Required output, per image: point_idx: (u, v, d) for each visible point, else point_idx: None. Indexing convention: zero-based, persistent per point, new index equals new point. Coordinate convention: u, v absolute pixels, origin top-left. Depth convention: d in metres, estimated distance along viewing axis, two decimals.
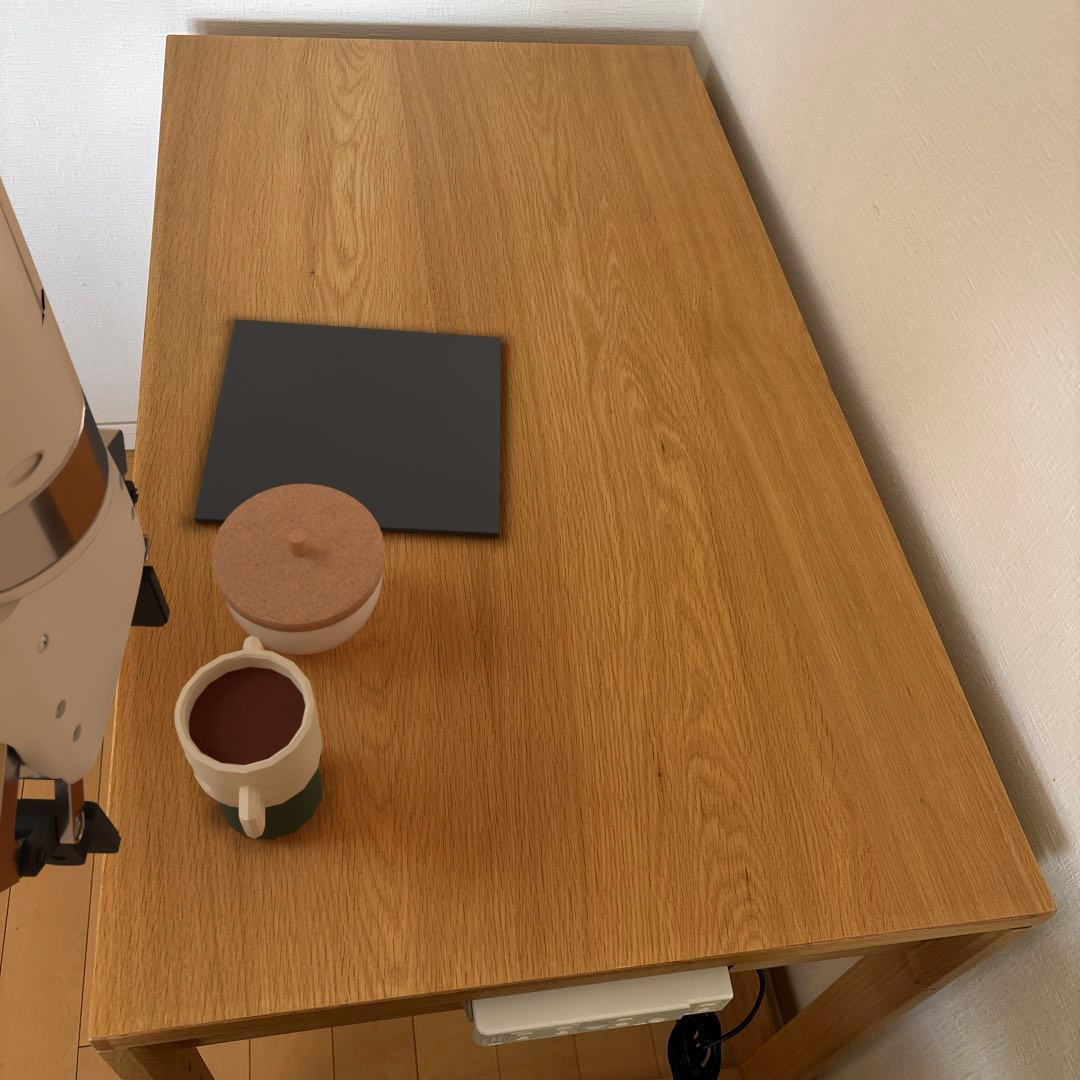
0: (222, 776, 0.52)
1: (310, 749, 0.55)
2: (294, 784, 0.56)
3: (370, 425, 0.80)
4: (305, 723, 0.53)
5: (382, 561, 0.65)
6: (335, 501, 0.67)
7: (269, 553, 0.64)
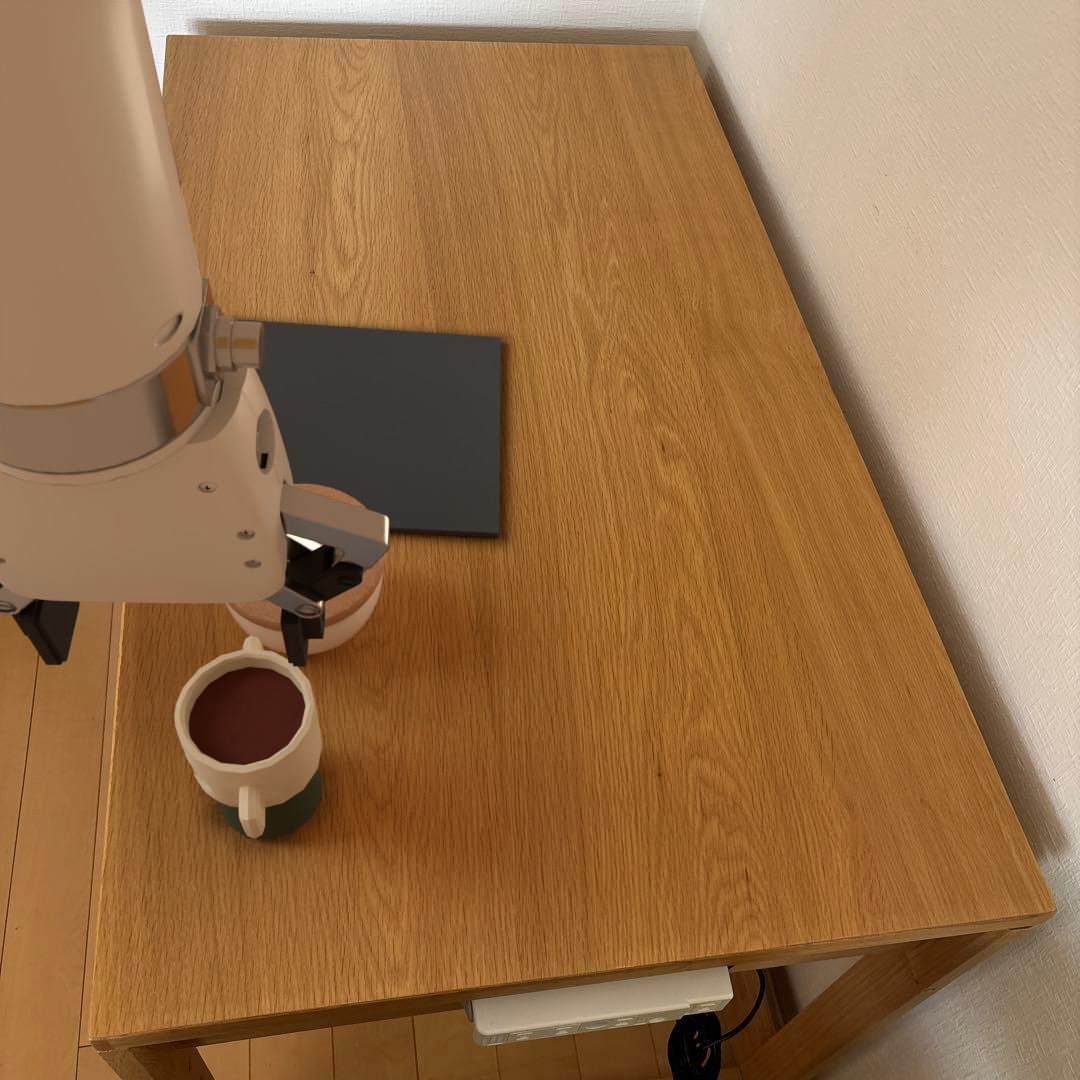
0: (222, 776, 0.52)
1: (310, 749, 0.55)
2: (294, 784, 0.56)
3: (370, 425, 0.80)
4: (305, 723, 0.53)
5: (382, 561, 0.65)
6: None
7: None
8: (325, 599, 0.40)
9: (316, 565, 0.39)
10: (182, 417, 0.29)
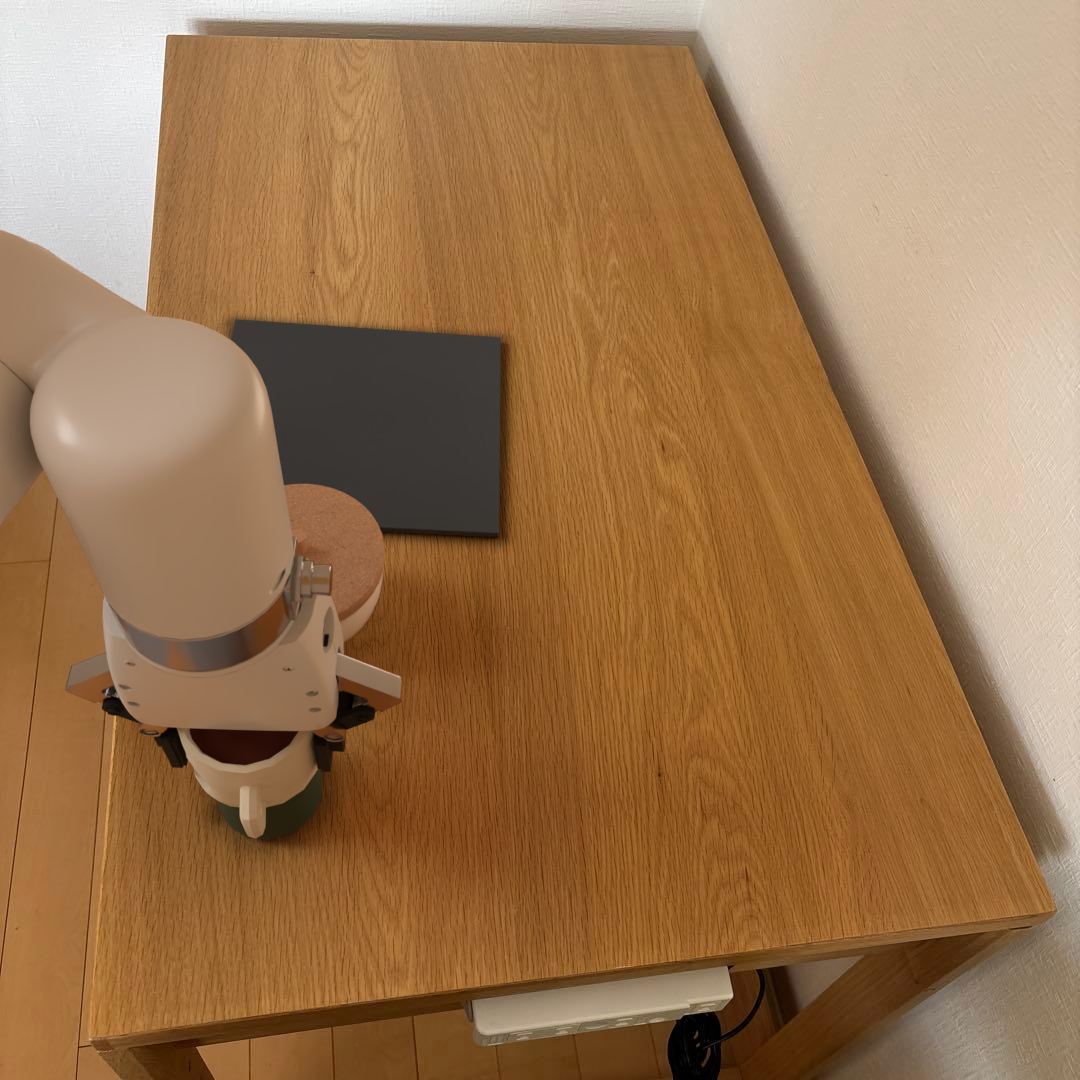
0: (223, 776, 0.52)
1: (311, 749, 0.55)
2: (295, 784, 0.56)
3: (370, 425, 0.80)
4: None
5: (382, 561, 0.65)
6: (334, 501, 0.67)
7: None
8: (347, 728, 0.54)
9: None
10: (276, 631, 0.42)
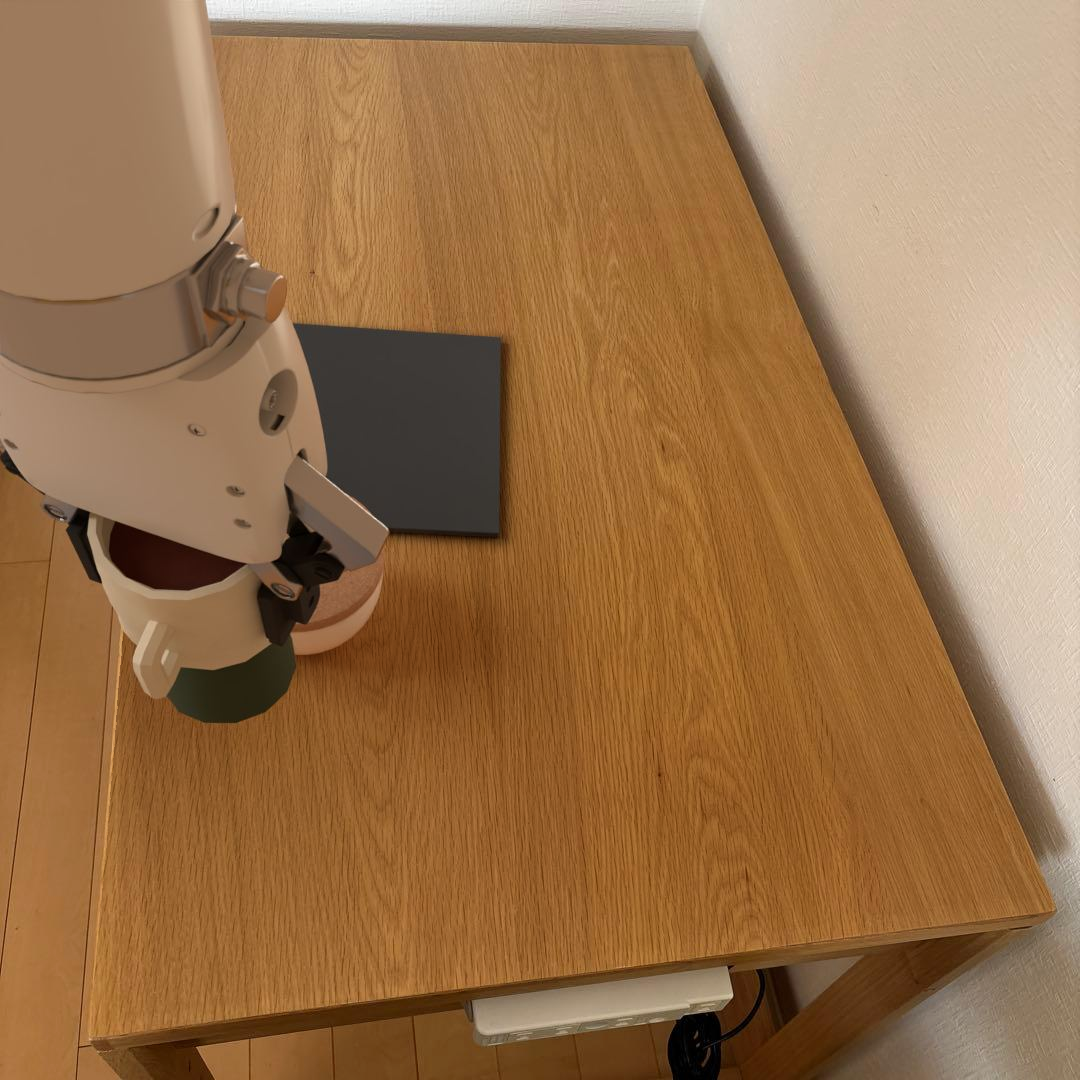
0: (124, 595, 0.37)
1: None
2: (229, 646, 0.41)
3: (370, 425, 0.80)
4: None
5: (382, 561, 0.65)
6: None
7: None
8: (305, 585, 0.38)
9: (309, 551, 0.38)
10: (173, 349, 0.27)
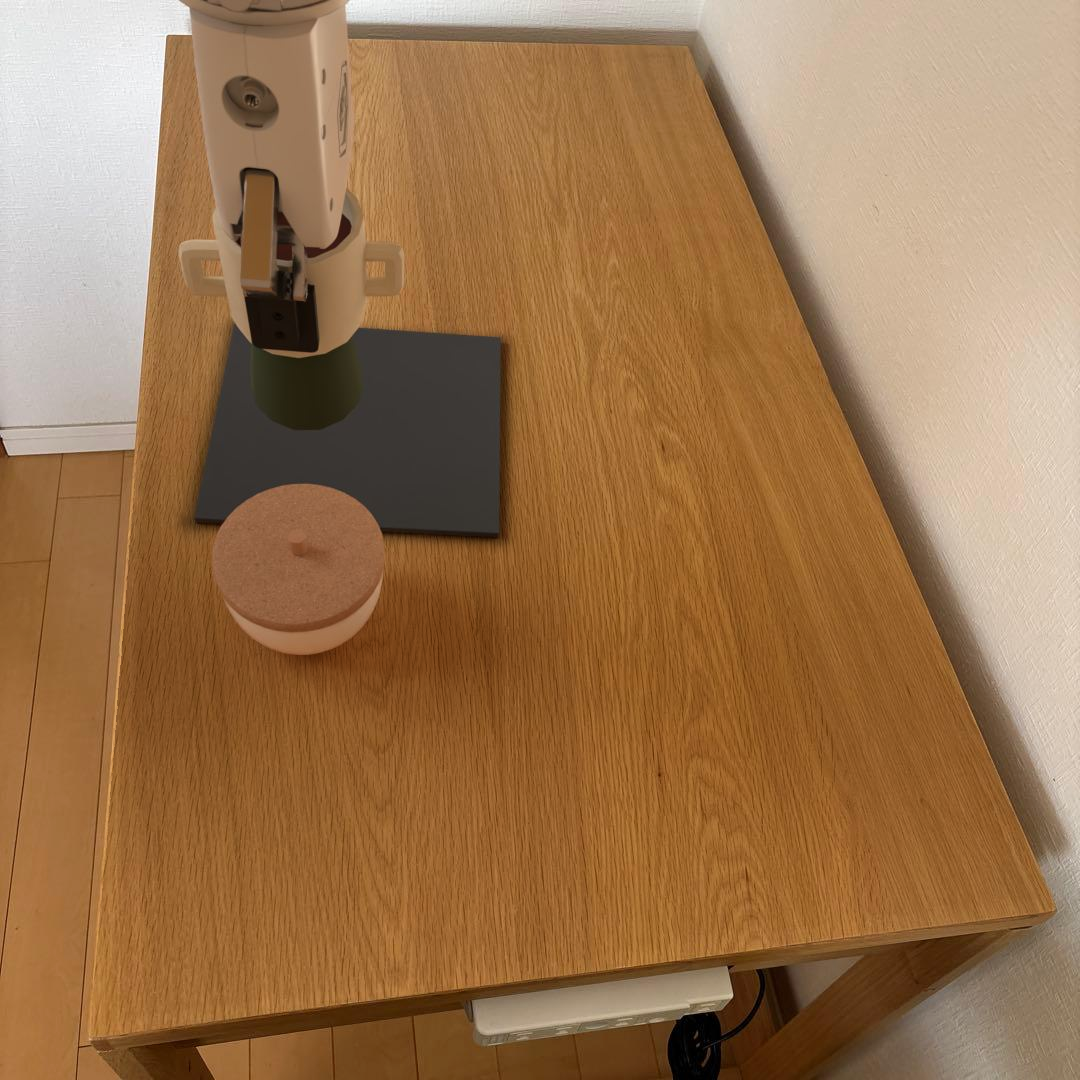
0: None
1: None
2: (238, 311, 0.51)
3: (370, 425, 0.80)
4: None
5: (382, 561, 0.65)
6: (334, 501, 0.67)
7: (269, 553, 0.64)
8: None
9: None
10: None
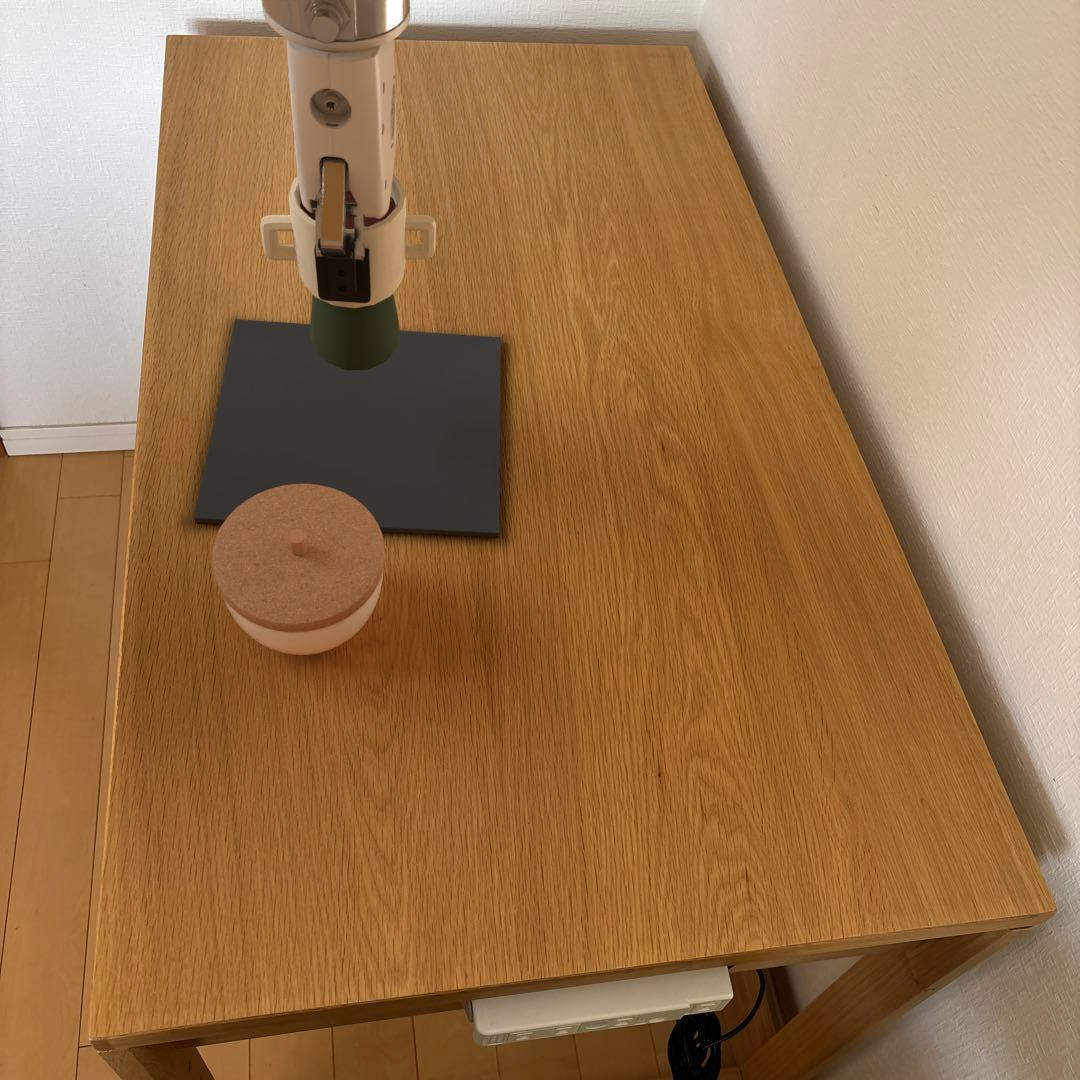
0: None
1: None
2: (306, 271, 0.64)
3: (370, 425, 0.80)
4: None
5: (382, 561, 0.65)
6: (334, 501, 0.67)
7: (269, 553, 0.64)
8: None
9: None
10: (287, 19, 0.50)
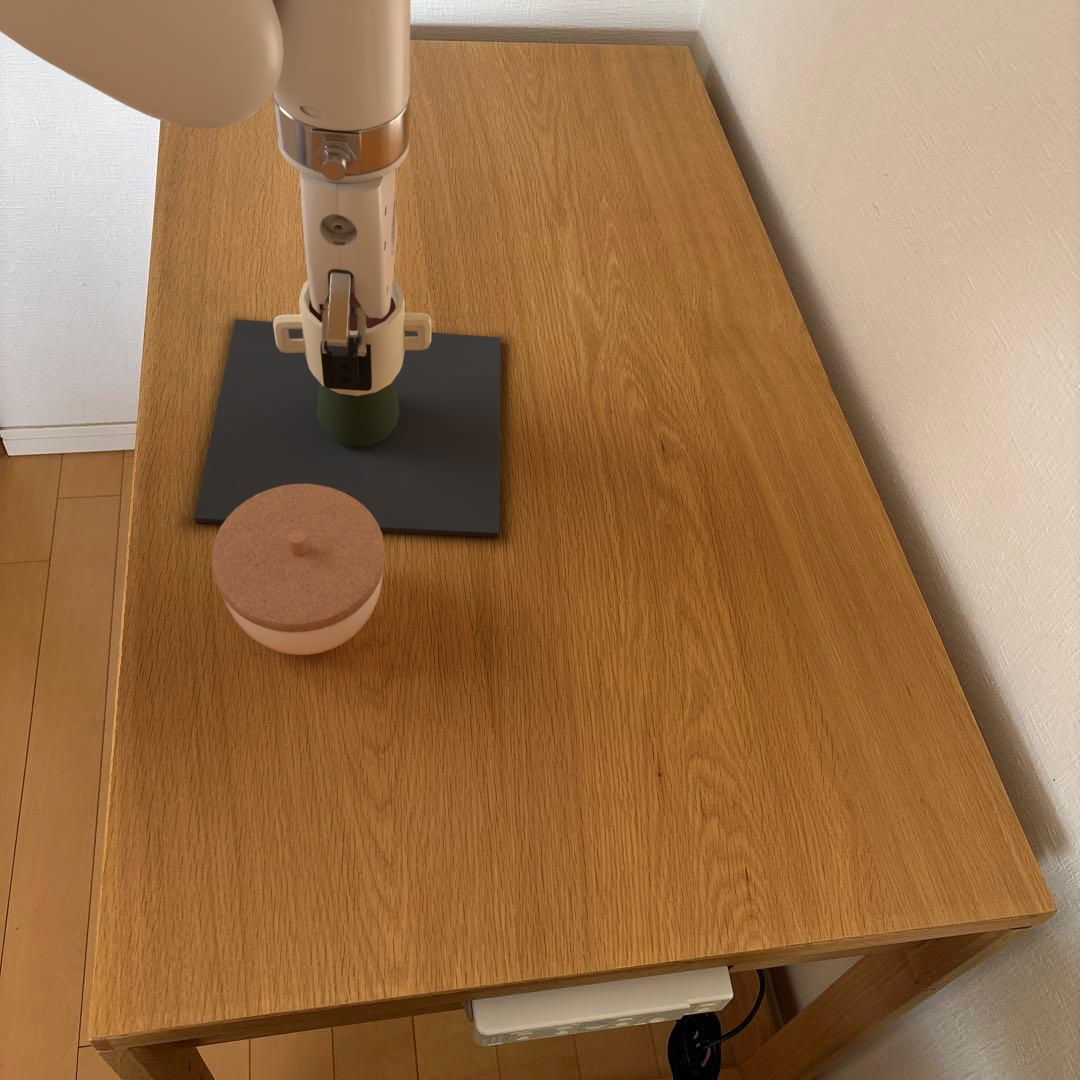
0: None
1: None
2: (315, 364, 0.71)
3: None
4: None
5: (382, 561, 0.65)
6: (335, 501, 0.67)
7: (269, 553, 0.64)
8: None
9: None
10: (300, 156, 0.57)
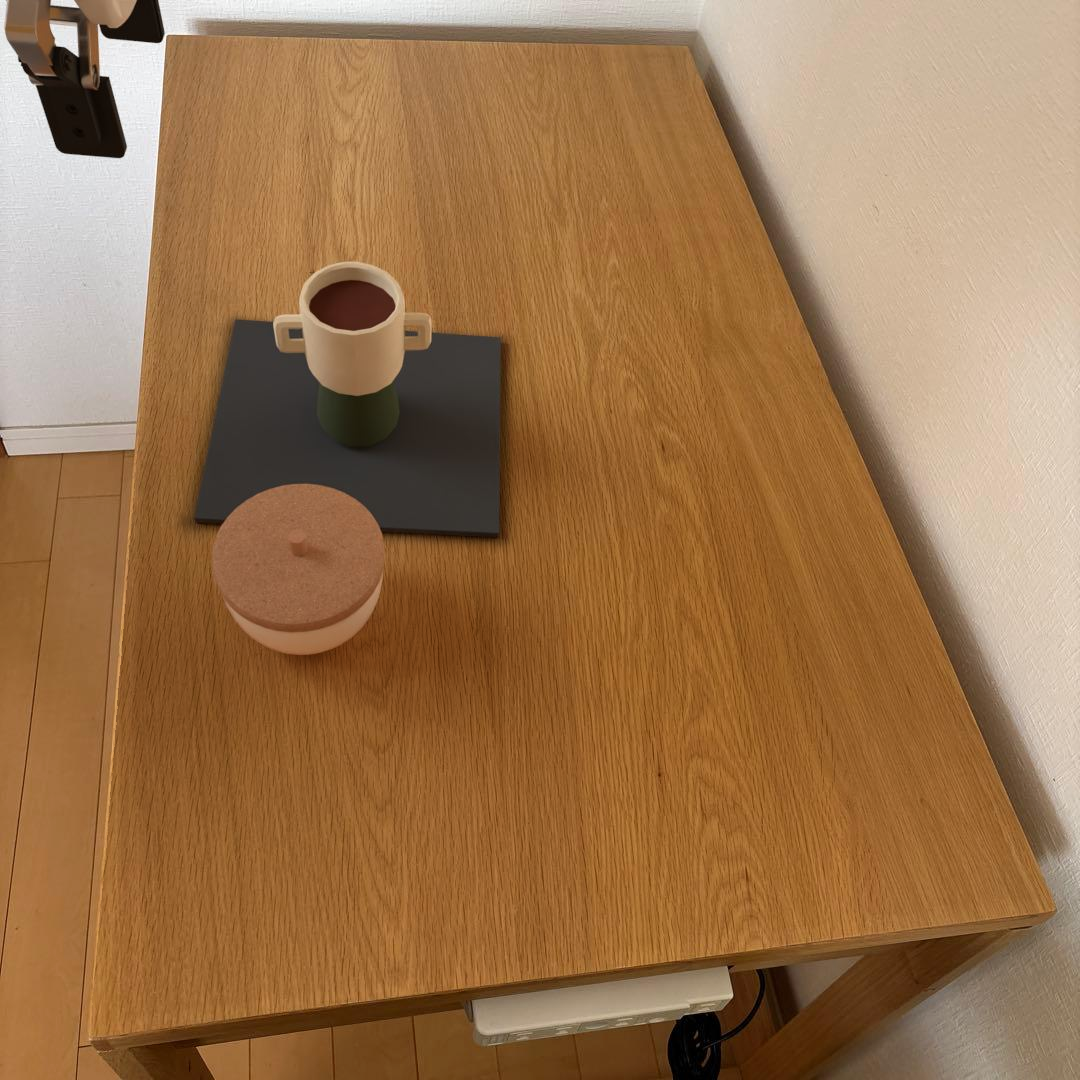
0: None
1: (331, 355, 0.69)
2: (315, 363, 0.71)
3: None
4: (336, 329, 0.68)
5: (382, 561, 0.65)
6: (334, 501, 0.67)
7: (269, 553, 0.64)
8: None
9: None
10: None
